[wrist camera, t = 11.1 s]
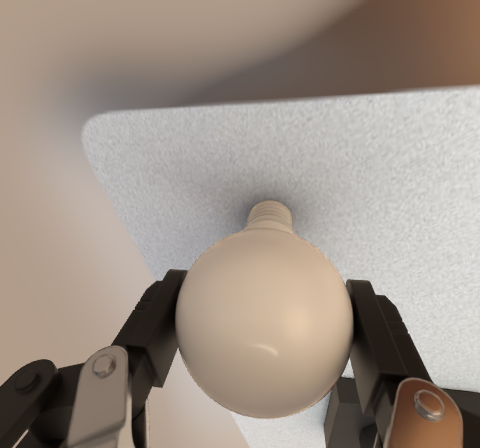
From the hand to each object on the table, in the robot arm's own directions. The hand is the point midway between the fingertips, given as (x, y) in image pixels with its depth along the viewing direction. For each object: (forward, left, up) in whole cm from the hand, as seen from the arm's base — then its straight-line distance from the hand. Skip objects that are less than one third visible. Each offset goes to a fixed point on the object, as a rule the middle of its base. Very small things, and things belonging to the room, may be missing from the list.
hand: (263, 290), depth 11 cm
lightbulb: (0, 0, -7) cm, 7 cm away
